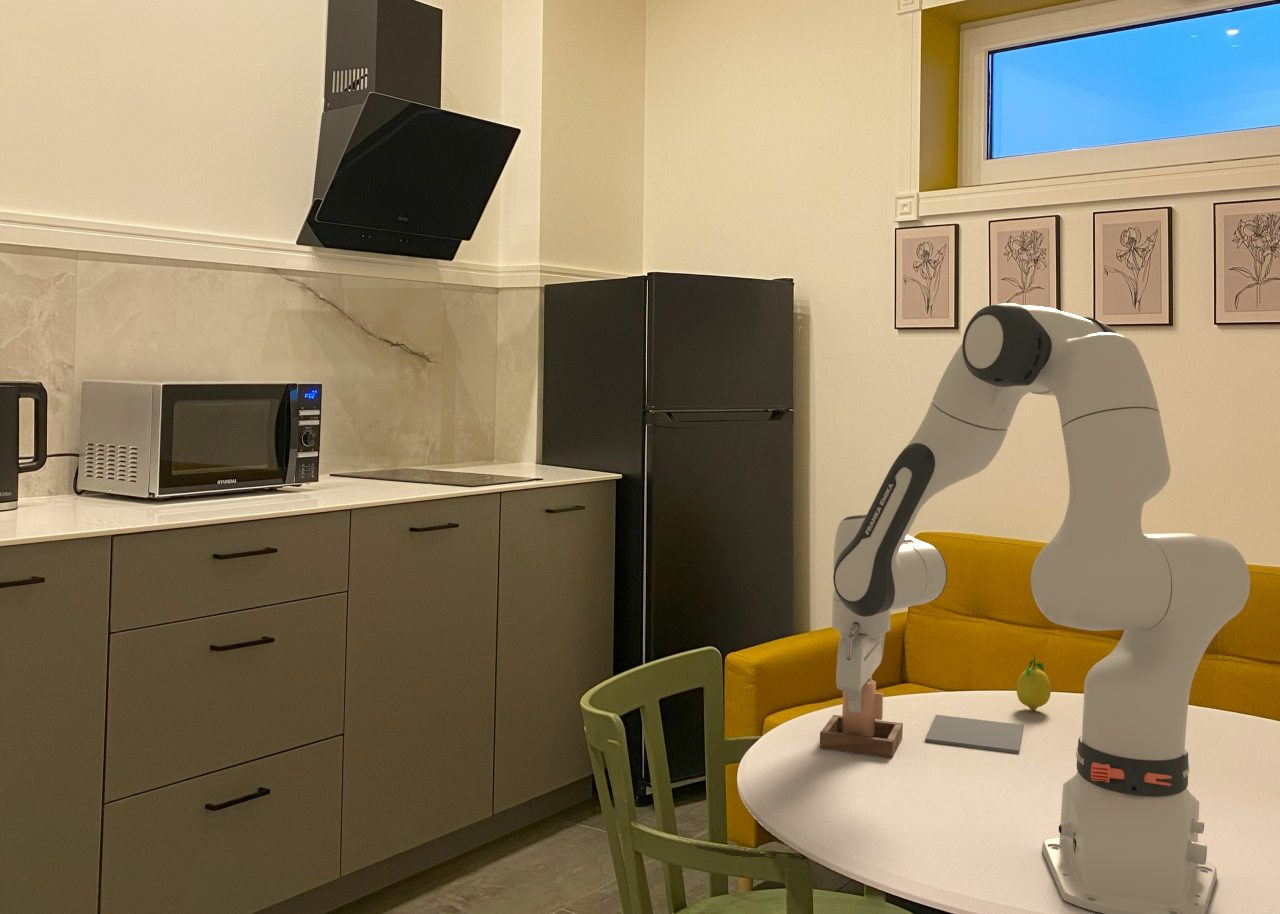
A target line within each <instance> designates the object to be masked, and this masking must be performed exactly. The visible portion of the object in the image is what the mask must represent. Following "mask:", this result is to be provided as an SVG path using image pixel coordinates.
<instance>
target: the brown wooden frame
mask: <svg viewBox="0 0 1280 914" xmlns="http://www.w3.org/2000/svg"><path fill="white" fill-rule="evenodd" d="M903 724H904V723H903V722H895V721H888V720H887V721H886V720H877V719H875V734H874V735H873V736H870V737H868V736H860V735H853V734H845V733H842V715H838V714H837V715H836V714H833V715H832V716H831V718H830V719H829V720H828V721H827V723H826V724H825V726H823V728H822V730H820V731H819V732H820V733H819V749H821V750H829V751H836V752H838V751H839V752H844V753H850V754H859V755H867V756H873V757H882V758H890V759H893V757H894V756H895V754H896V752H897V751H898V748H899V746H900V744H901V742H902V740H903V731H904V729H903V728H904V727H903V726H904V725H903Z"/></svg>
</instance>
